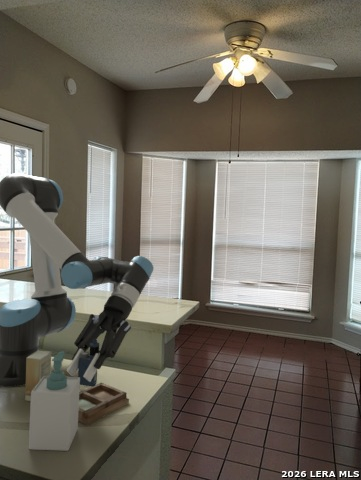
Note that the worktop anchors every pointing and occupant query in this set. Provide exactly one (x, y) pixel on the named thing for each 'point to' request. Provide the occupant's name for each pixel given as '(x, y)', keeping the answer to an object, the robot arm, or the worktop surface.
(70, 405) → the soap bottle
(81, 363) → the vaping device
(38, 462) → the worktop surface
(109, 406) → the divided wooden tray
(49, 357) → the skincare box
